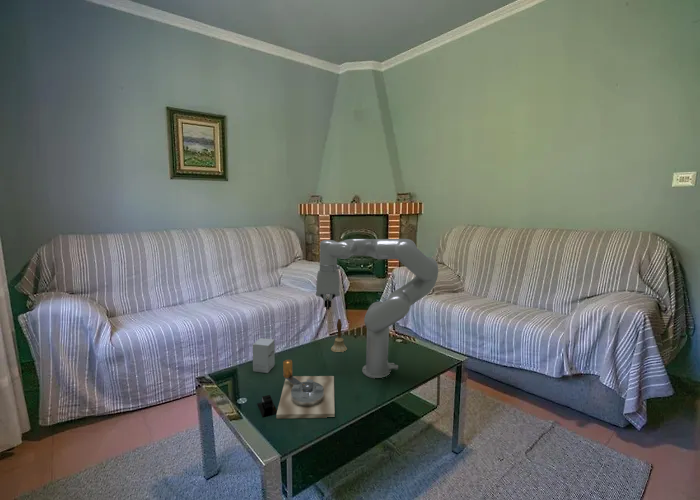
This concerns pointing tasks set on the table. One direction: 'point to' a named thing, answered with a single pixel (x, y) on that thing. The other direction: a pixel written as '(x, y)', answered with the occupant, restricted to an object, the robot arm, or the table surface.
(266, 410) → the black stand with base
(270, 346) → the supplement box
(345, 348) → the hand bell
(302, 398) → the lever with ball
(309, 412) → the birch board
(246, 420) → the table surface
